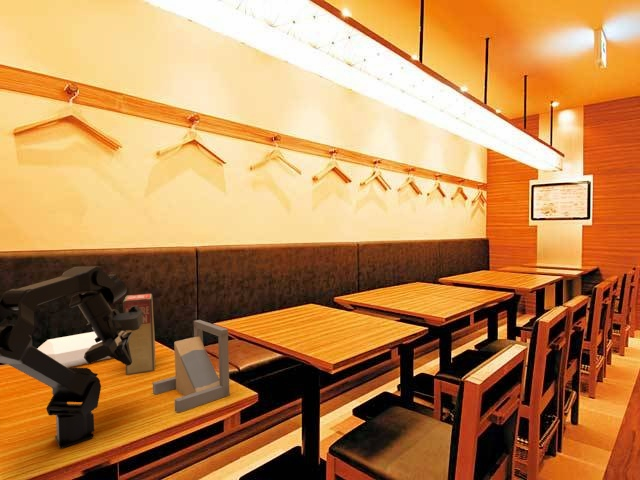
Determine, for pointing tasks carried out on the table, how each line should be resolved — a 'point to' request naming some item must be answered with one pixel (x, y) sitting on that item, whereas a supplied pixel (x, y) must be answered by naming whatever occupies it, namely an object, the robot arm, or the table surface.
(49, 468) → the table surface
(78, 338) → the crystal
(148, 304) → the food packaging
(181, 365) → the sandwich container
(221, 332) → the grey frame stand
